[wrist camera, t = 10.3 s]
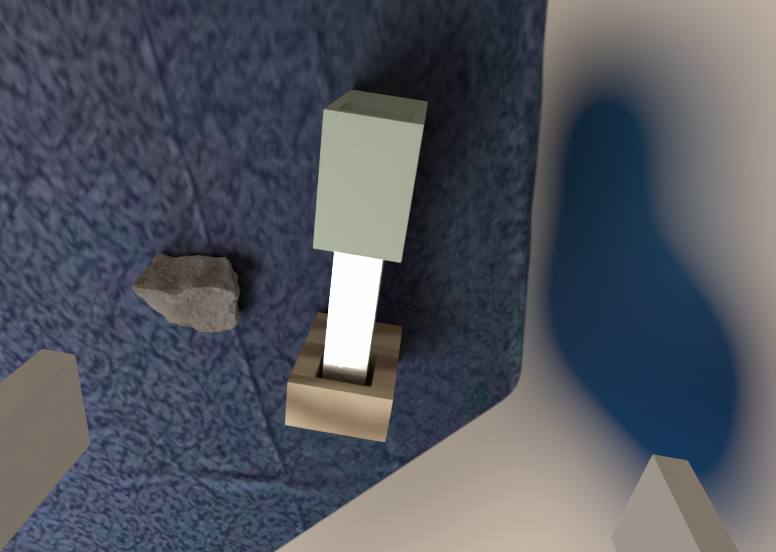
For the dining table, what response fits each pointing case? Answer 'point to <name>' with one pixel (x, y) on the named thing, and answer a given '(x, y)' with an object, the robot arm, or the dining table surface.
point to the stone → (192, 291)
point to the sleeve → (367, 174)
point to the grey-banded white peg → (352, 317)
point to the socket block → (344, 387)
